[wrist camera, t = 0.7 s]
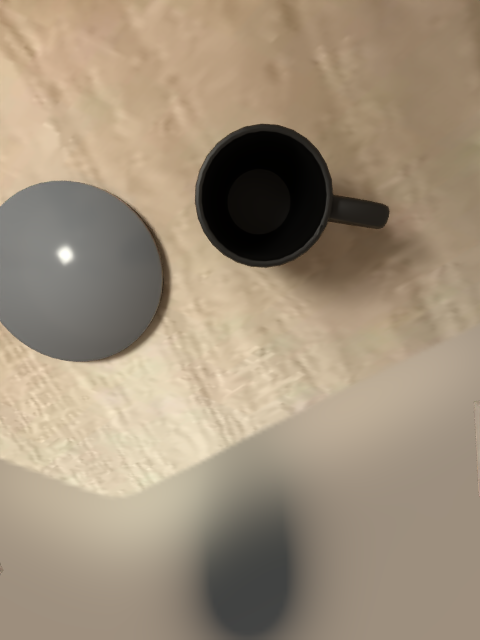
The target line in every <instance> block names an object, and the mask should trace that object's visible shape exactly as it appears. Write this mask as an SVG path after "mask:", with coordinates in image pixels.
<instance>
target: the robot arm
mask: <svg viewBox="0 0 480 640" xmlns="http://www.w3.org/2000/svg"><path fill="white" fill-rule="evenodd" d="M474 415H475V433H476V452H477V472H478V489H479V497H480V401H475V402H474ZM2 572H3V569H2V567H1V564H0V574H1V573H2Z"/></svg>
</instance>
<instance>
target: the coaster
mask: <svg viewBox="0 0 480 640" xmlns="http://www.w3.org/2000/svg"><path fill="white" fill-rule="evenodd" d="M163 279H164V278H163V266H162V261H161V256H160V253H159V249H158V246H157V244H156V242H155V240H154V237H153V235H152V233H151V232H150V230H149V229H148V227H147V225H146V224H145V222H144V221H143V220H142V219H141V218H140V216H139V215H138V214H137V213H136V212H135V211H134V210H133V209H132V208H131V207H130V206H129V205H128V204H126V203H125V202H124V201H122V200H121V199H120V198H118V197H117V196H115V195H113V194H111V193H109V192H108V191H105V190H103V189H100V188H98V187H95V186H92V185H88V184H84V183H79V182H71V181H50V182H44V183H39V184H36V185H33V186H30V187H28V188H26V189H23V190H21V191H19V192H18V193H16V194H15V195H13V196H12V197H10V198H9V199H8V200H7V201H6V202H5V203H4V204H3V205H2V206H0V321H1V323H2V324H3V325H4V326H5V327H6V328H7V329H8V331H9V332H10V333H11V334H12V335H14V336H15V337H16V338H17V339H18V340H20V341H21V342H22V343H24V344H25V345H27V346H28V347H30V348H31V349H33V350H35V351H37V352H39V353H41V354H44V355H47V356H49V357H52V358H56V359H60V360H65V361H74V362H83V361H93V360H99V359H103V358H106V357H109V356H112V355H114V354H116V353H118V352H120V351H122V350H123V349H125V348H127V347H128V346H129V345H131V344H132V343H133V342H134V341H136V340H137V339H138V338H139V336H140V335H141V334H142V333H143V332H144V331H145V330H146V328H147V327H148V326H149V324H150V323H151V321H152V320H153V318H154V316H155V314H156V312H157V310H158V307H159V304H160V301H161V296H162V291H163Z"/></svg>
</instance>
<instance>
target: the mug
mask: <svg viewBox="0 0 480 640" xmlns="http://www.w3.org/2000/svg"><path fill="white" fill-rule="evenodd" d="M195 205H196V210H197V216H198V219H199V222H200V224H201V227H202V229H203V231H204V233H205V235H206V236H207V237H208V239H209V240H210V242H211V243H212V245H213V246H215V247H216V248H217V249H218V250H219V251H220V252H221V253H222V254H223V255H225V256H227V257H228V258H230V259H232V260H234V261H235V262H237V263H241V264H244V265H247V266H251V267H264V268H267V267H273V266H280V265H283V264H285V263H288V262H290V261H293V260H295V259H297V258H298V257H299V256H301V255H302V254H304V253H305V252H307V251H308V250H309V249H310V248H311V247H312V246H313V245H314V244H315V242H316V241H317V240H318V239H319V237H320V236H321V234H322V232H323V231H324V229H325V227H326V225H327V222H328V221H329V222H335V223H342V224H348V225H354V226H360V227H367V228H375V229H380V228H383V227H384V226H385V224H386V223H387V220H388V217H389V208H388V206H386V205H384V204H381V203H377V202H372V201H367V200H361V199H355V198H349V197H343V196H336V195H333V189H332V179H331V176H330V173H329V170H328V167H327V164H326V162H325V161H324V159H323V157H322V156H321V154H320V152H319V151H318V149H317V148H316V147H315V146H314V145H313V144H312V143H311V142H310V141H309V140H308V139H307V138H305V137H304V136H302V135H300V134H299V133H297V132H296V131H294V130H292V129H289V128H286V127H283V126H280V125H272V124H257V125H252V126H246V127H243V128H241V129H239V130H237V131H234V132H232V133H230V134H229V135H227V136H226V137H225V138H224V139H222V140H221V141H220V142H218V143H217V144H216V146H215V147H214V148H213V149H212V150H211V152H210V153H209V154H208V155H207V157H206V159H205V161H204V163H203V165H202V167H201V169H200V171H199V175H198V179H197V182H196V189H195Z"/></svg>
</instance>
